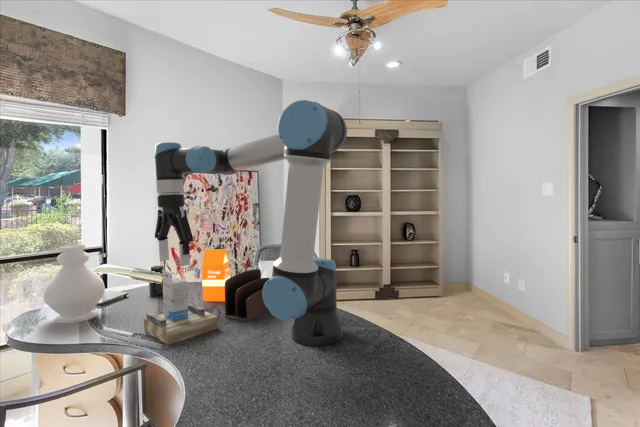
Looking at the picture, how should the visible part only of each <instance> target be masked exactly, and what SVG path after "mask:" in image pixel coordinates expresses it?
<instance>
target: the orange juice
mask: <svg viewBox="0 0 640 427" xmlns="http://www.w3.org/2000/svg"><path fill="white" fill-rule="evenodd" d="M230 271H231V270H230V260H229V255H228V252H227V249H225V248H221V249H220V248H217V249H216V248H214V249H213V248H212V249H211V248H210V249H209V248H207V249H204V252H203V257H202V262H201V277H202V278H201V279H202V280H201V285H202V301H203V302H225V281H226V280H227V279H229V278H231V274H230Z"/></svg>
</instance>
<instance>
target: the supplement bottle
mask: <svg viewBox="0 0 640 427" xmlns="http://www.w3.org/2000/svg"><path fill="white" fill-rule="evenodd" d="M162 270H164V266H163V265H155V266H154V265H153V266H151V267H150V272H151V271H155V272H160V273H162ZM164 271H165V270H164ZM148 289H149V290H148V291H149V296H150V297H152V298H159V297H163V284H156V283H150V282H149V281H148Z"/></svg>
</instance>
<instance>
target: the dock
mask: <svg viewBox="0 0 640 427" xmlns="http://www.w3.org/2000/svg"><path fill="white" fill-rule="evenodd" d="M143 324H144V325H143V326H144V328H143V329H144V332H145V333H147V334H149V335H150V336H152V337H154V338H156V339H158V340H159V341H161V342H163V343H164V344H165V345H168V346H169V345H173V344H176V343H178V342H182V341H185V340H188V339H191V338H193V337H196V336H200V335H202V334H206V333H209V332H211V331H212V332H213V331H215V330H218V329H219V328H218V327H219V326H218V325H219V324H218V316H217V315H215V314H213V313H211V312H207V311H206V310H205V307H204V308H203V307H201V306H198V305H196V304H193V303H190V302H188V318H185V319H182V320H177V321H172V320H170V319H169V318H167V317H166V316H165V315H164V312H163V313H160V314H155V313H153V312H147V313H146V317H145V318H143Z"/></svg>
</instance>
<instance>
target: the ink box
mask: <svg viewBox="0 0 640 427" xmlns="http://www.w3.org/2000/svg"><path fill="white" fill-rule="evenodd" d="M172 274H173V273H171V272H169V271H167V270H162V277H163V296H162V299H163V300H162V301H163V313H164V315H165V316H166V317H167V318H169V319H170V320H172V321H177V320H182V319H185V318H188V303H189V302H188V286H187V285H188V281H187V280H185V279H183V278H181V277H177V276H174V277H172V276H173V275H172ZM165 275H166V276H165Z"/></svg>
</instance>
